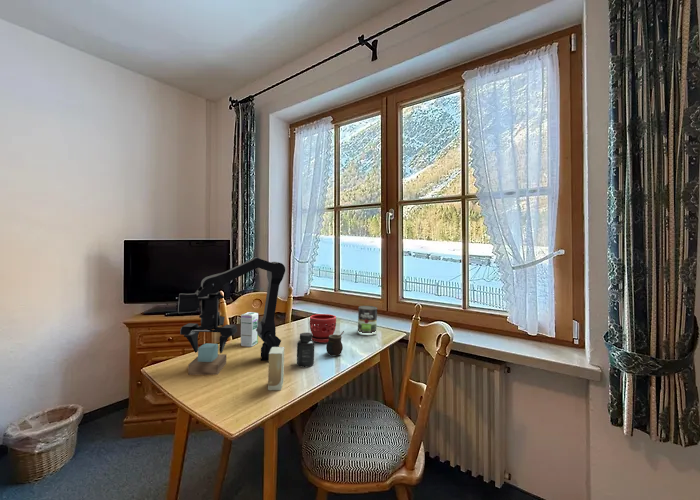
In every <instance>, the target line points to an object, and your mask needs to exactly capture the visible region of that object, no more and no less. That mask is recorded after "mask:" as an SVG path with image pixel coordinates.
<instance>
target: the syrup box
mask: <svg viewBox="0 0 700 500" xmlns="http://www.w3.org/2000/svg"><path fill="white" fill-rule="evenodd" d="M258 321H259V312H254V311H247V312H246V313H242V314H241V315H240V346H242V347H248V348H249V347H250V348H252V347H253V346H255V345H256V344H258V343H259V336H258V334H257V331H256V329H257V322H258Z"/></svg>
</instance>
